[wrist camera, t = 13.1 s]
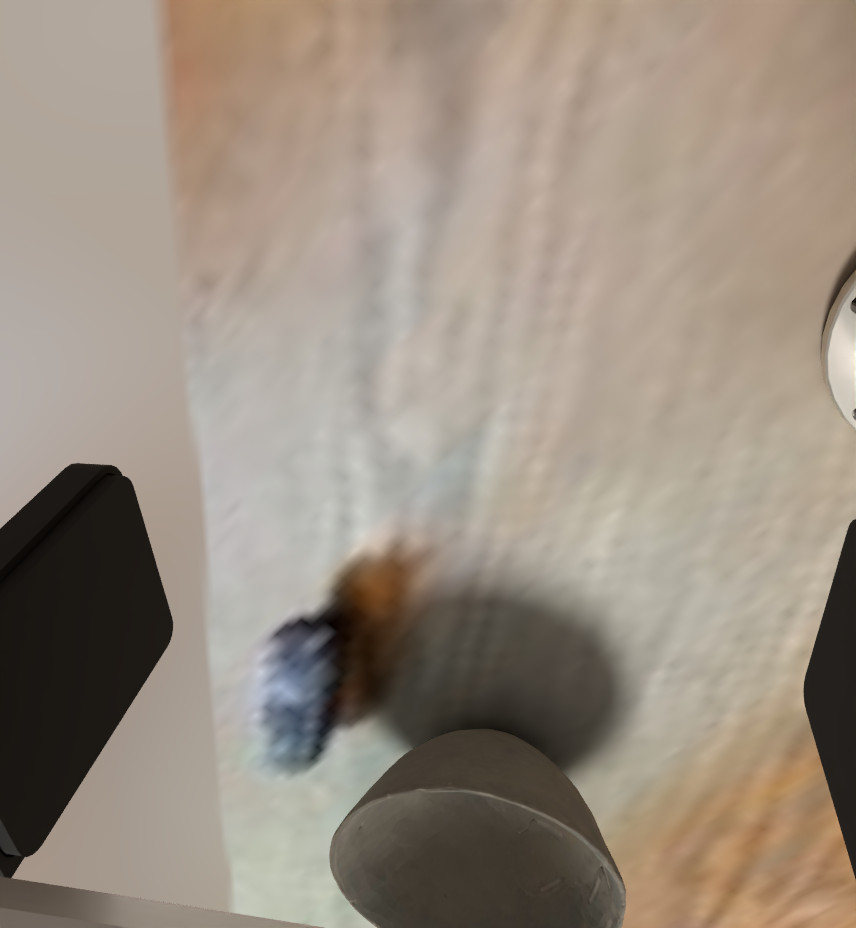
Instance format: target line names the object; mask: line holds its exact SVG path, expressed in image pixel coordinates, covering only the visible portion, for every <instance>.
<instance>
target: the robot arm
mask: <svg viewBox="0 0 856 928" xmlns="http://www.w3.org/2000/svg"><path fill="white" fill-rule="evenodd" d="M855 297H856V269H855V271H854V272H853V273H852V275H851V276H850V277H849V279H848V280H847V281H846V283H845V284H844V285H843V286H842V288H841V290H840V292H839V294H838V296H837V298H836V300H835V302H834V304H833V306H832V308H831V310H830V312H829V315H828V319H827V322H826V326H825V329H824V332H823V337H822V351H821V363H822V369H823V376H824V381H825V384H826V386H827V389H828V391H829V393H830V396H831V398H832V400H833V402H834V404H835V405H836V407H837V409H838V410H839V412H840V414H841V415H842V417H843V418H844V419H845V420H846V422H847V423H848V424H849V425H850V426H851V427H852V428H853V429H854V430H855V431H856V303H852V301H853V299H854V298H855ZM172 631H173V620H172V616H171V613H170V609H169V606H168V602H167V599H166V595H165V592H164V589H163V586H162V582H161V578H160V576H159V572H158V569H157V565H156V561H155V558H154V555H153V551H152V548H151V544H150V541H149V538H148V534H147V531H146V528H145V524H144V521H143V517H142V514H141V510H140V507H139V504H138V501H137V497H136V494H135V490H134V487H133V484H132V482H131V481H130V479H128V478H127V477H125V476H122V474H121V472H120V471H119V470H118V468H117V467H115V466H112V465H98V464H80V463H76V464H71V465H69V466H68V467H66V468H65V469H64V470H63V471H62V472H61V473H59V474H58V475H57V476H56V477H55V478H54V479H53V480H52V481H51V482H50V483H49V484H48V485H47V486H46V487H45V488H44V489H42V490H41V491H40V492H39V493H38V494H37V495H36V496H35V497H34V498H33V499H32V500H31V501H29V503H27V504H26V505H25V506H24V507H23V508H22V509H21V510H20V511H19V512H18V513H17V514H16V515H15V516H14V517H12V518H11V519H10V520H9V521H8V522H7V523H6V524H5V525H4V526H3V527H2V528H1V529H0V928H323V927H316V926H310V925H304V924H298V923H291V922H285V921H279V920H273V919H266V918H260V917H254V916H248V915H241V914H235V913H229V912H223V911H216V910H209V909H204V908H198V907H191V906H185V905H179V904H172V903H166V902H160V901H153V900H146V899H141V898H134V897H127V896H121V895H115V894H108V893H101V892H95V891H89V890H83V889H76V888H69V887H63V886H57V885H50V884H44V883H37V882H30V881H25V880H18V879H11V878H12V876H13V874H14V873H15V871H16V870H17V868H18V867H19V865H20V864H21V862H22V860H23V859H24V857H28V856H30V855H33V854H34V853H35V852H36V851H37V850H38V849H39V848H40V847H41V845H42V844H43V843H44V841H45V839H46V838H47V836H48V835H49V833H50V832H51V830H52V828H53V827H54V825H55V824H56V822H57V820H58V818H59V817H60V816H61V814H62V813H63V811H64V809H65V808H66V806H67V805H68V803H69V801H70V800H71V798H72V797H73V795H74V793H75V792H76V790H77V789H78V787H79V786H80V784H81V782H82V781H83V779H84V778H85V776H86V775H87V773H88V771H89V769H90V768H91V767H92V765H93V764H94V762H95V760H96V759H97V757H98V756H99V754H100V752H101V751H102V749H103V748H104V746H105V744H106V743H107V741H108V740H109V738H110V737H111V735H112V733H113V732H114V730H115V729H116V727H117V726H118V724H119V722H120V721H121V719H122V718H123V716H124V714H125V713H126V711H127V709H128V708H129V707H130V705H131V703H132V702H133V700H134V699H135V697H136V696H137V694H138V692H139V691H140V689H141V687H142V686H143V684H144V683H145V681H146V680H147V678H148V677H149V675H150V673H151V672H152V670H153V669H154V667H155V665H156V663H157V662H158V661H159V659H160V658H161V656H162V654H163V653H164V651H165V649H166V648H167V646H168V644H169V642H170V640H171V637H172ZM804 702H805V707H806V711H807V715H808V718H809V722H810V725H811V729H812V732H813V735H814V739H815V742H816V746H817V749H818V752H819V756H820V759H821V763H822V766H823V769H824V773H825V776H826V780H827V783H828V786H829V790H830V793H831V797H832V800H833V804H834V807H835V810H836V814H837V817H838V821H839V824H840V827H841V831H842V834H843V838H844V841H845V844H846V848H847V851H848V855H849V858H850V861H851V865H852V868H853V872H854V875H855V879H856V519H855V520H853V521H852V522H851V523H850V525H849V528H848V531H847V534H846V537H845V541H844V544H843V548H842V551H841V555H840V558H839V562H838V565H837V569H836V572H835V576H834V579H833V582H832V586H831V589H830V593H829V596H828V600H827V603H826V607H825V610H824V614H823V617H822V620H821V624H820V627H819V631H818V634H817V638H816V641H815V645H814V648H813V652H812V655H811V659H810V662H809V665H808V669H807V672H806V676H805V681H804Z"/></svg>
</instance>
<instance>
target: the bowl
mask: <svg viewBox="0 0 856 928" xmlns="http://www.w3.org/2000/svg"><path fill="white" fill-rule="evenodd" d="M329 856H330V867H331V871H332V874H333V876H334V879H335V880H336V882H337V884H338V886H339V888H340V890H341V892H342V894H343V895H344V896H345V897H346V899H347V900H348V901H349V902H350V904H351V905H352V906H353V907H354V908H355V909H356V910H357V911H358V912H359V913H360V914H361V915H362V916H363V917H365V918H366V919H367V920H368V921H369V922H371V923H372V924H373V925H374V926H376V927H377V928H621V926H622V923H623V919H624V913H625V907H626V901H625V895H626V889H625V886H624V883H623V880H622V877H621V875H620V873H619V871H618V868H617V866H616V864H615V862H614V860H613V858H612V856H611V854H610V852H609V850H608V848H607V846H606V844H605V842H604V840H603V837H602V835H601V833H600V830H599V828H598V826H597V823H596V821H595V819H594V816H593V815H592V813H591V811H590V809H589V808H588V806H587V804H586V803H585V801H584V800H583V798H582V796H581V795H580V793H579V791H578V790H577V788H576V787H575V786H574V785H573V783H572V782H571V781H570V780H569V778H568V777H567V776H566V775H565V774H564V773H563V771H562V770H561V769H560V768H559V767H558V766H556V765H555V764H554V763H553V762H552V761H551V760H550V759H548V758H547V757H546V756H545V755H544V754H543V753H541V752H540V751H539V750H537V749H536V748H535V747H533V746H532V745H530V744H529V743H527V742H525V741H523V740H522V739H520V738H518V737H516V736H514V735H511V734H509V733H506V732H502V731H497V730H493V729H469V730H458V731H453V732H450V733H446V734H443V735H440V736H437V737H435V738H433V739H430V740H428V741H426V742H424V743H422V744H421V745H419V746H417V747H415V748H414V749H412V750H411V751H409V752H408V753H406V754H405V755H404V756H402V757H401V758H400V759H399V760H398V761H397V762H396V763H395V764H394V765H392V766H391V767H390V768H389V769H388V770H387V771H386V772H385V773H384V774H383V776H382V777H381V778H380V779H379V780H378V781H377V782H376V783H375V784H374V785H373V786H372V787H371V788H370V789H369V790H368V792H367V793H366V794H365V795H364V796H363V797H362V798H361V800H360V801H359V802H358V803H357V804H356V805H355V807H354V808H353V809H352V810H351V811H350V812H349V814H348V815H347V816H346V817H345V819H344V820H343V822H342V823H341V824H340V826H339V827H338V829H337V830H336V832H335V834H334V836H333V838H332V842H331V847H330V855H329Z"/></svg>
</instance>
